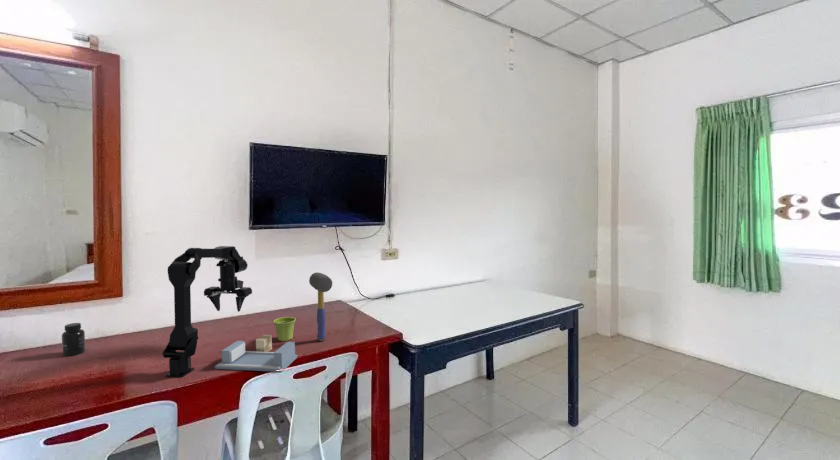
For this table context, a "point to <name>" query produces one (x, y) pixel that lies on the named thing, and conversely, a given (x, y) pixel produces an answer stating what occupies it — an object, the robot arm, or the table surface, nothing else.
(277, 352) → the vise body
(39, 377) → the table surface
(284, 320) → the plant pot
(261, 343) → the block
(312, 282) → the rubber mallet
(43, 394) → the table surface
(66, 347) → the supplement bottle
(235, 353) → the block
